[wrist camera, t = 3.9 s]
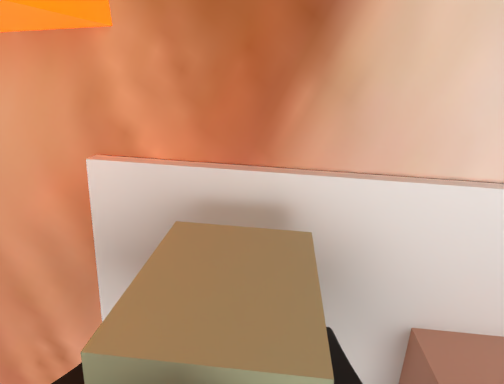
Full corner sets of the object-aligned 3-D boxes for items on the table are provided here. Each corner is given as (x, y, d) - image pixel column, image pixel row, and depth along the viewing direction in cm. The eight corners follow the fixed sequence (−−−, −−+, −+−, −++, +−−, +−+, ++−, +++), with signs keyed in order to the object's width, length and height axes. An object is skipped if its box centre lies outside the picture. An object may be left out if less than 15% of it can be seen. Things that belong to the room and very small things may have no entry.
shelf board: (532, 435, 19) (565, 485, 17) (116, 387, 20) (95, 427, 18) (631, 193, 15) (695, 215, 12) (95, 154, 16) (64, 168, 14)
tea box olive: (316, 232, 12) (343, 380, 6) (297, 397, 14) (304, 616, 8) (175, 221, 12) (80, 351, 7) (179, 384, 14) (110, 586, 9)
